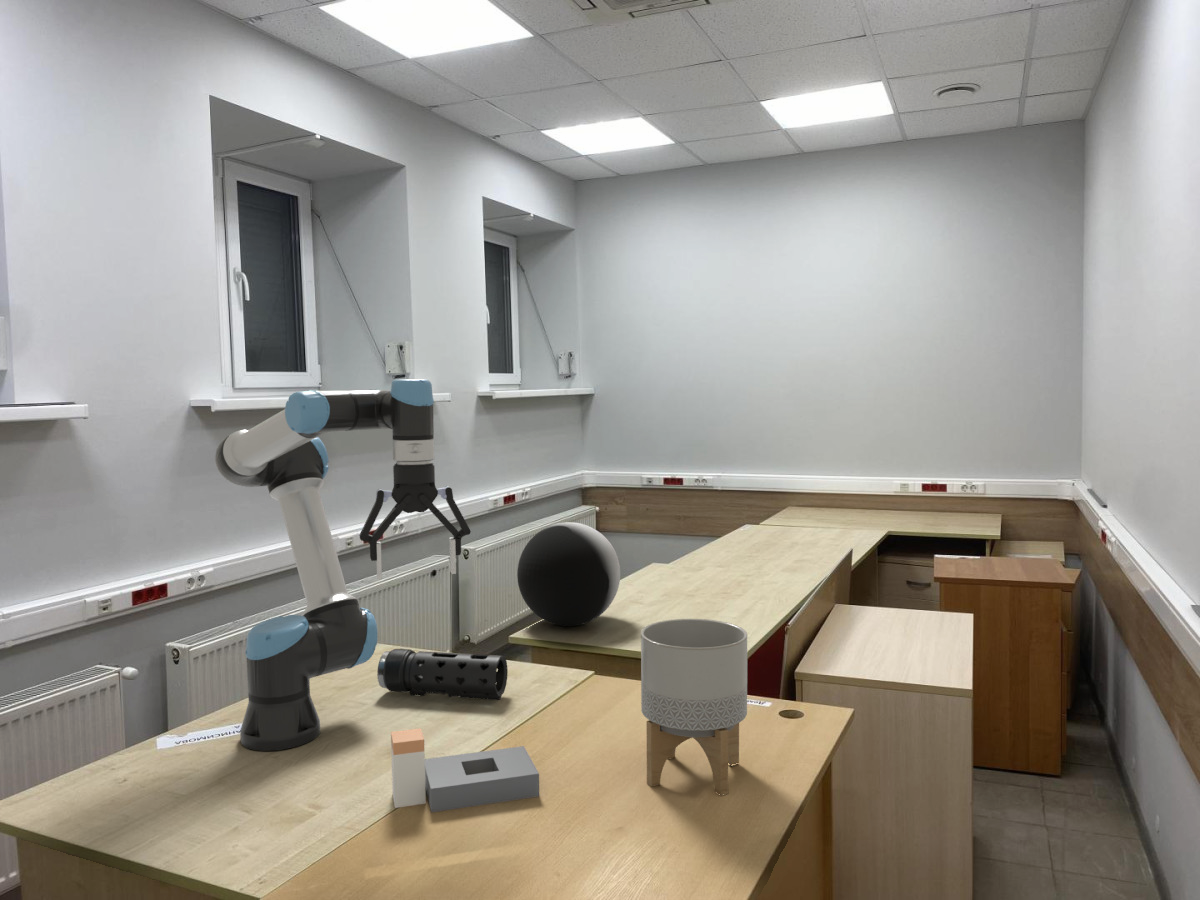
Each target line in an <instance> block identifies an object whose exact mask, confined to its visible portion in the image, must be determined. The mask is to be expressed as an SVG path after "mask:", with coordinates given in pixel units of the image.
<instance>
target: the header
mask: <svg viewBox="0 0 1200 900" xmlns="http://www.w3.org/2000/svg"><path fill="white" fill-rule="evenodd" d="M425 794H426V797H427V800H428V804H429V805H428V806H429V808H430V812H431V813H435V812H443V811H450V810H455V809H456V810H457V809H463V808H470V807H476V806H483V805H490V804H497V803H501V802H502V803H505V802H510V801H515V800H516V801H517V800H524V799H531V798H535V797H537V798H538V797H540V773H539V771H538V769H537V767H536V765H535V764H534V762H533V760H532V758H531V756H530V755H529V753H528V751H527V749H526V748H525V746H524V745H522V746H515V747H507V748H498V749H490V750H484V751H476V752H469V753H468V752H467V753H460V754H459V753H458V754H453V755H446V756H445V755H444V756H437V757H431V758H425Z"/></svg>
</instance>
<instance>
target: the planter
mask: <svg viewBox="0 0 1200 900" xmlns="http://www.w3.org/2000/svg"><path fill="white" fill-rule="evenodd" d="M640 657H641V658H640V660H641V661H640V668H641V670H640V671H641V672H640V680H641V682H640V683H641V684H640V685H641V689H640V690H641V693H640V694H641V695H640V696H641V698H640V699H641V702H640V703H641V705H640V706H641V710H640V711H641V713H642V715H643V716H644V717H645V718H646V719H647V720H646V784H647V785H648V786H650V788H651V787H656V786H659V785H661V779H662V778H661V777H662V772H663V769H664V766H665V764H666V762H667V760H669V758H671V759H674V758H673V757H675V758H676V748H678V746H680V745H681V744H682V743H684V742H686V741H687V740H690V739H692V738H693V739H694V740H695V741H696V742H697V743H698V744H699V745H700V747H701V749H702V750H703V752H704V754H705V756H706V758H707V760H708V762H709V763H708V764H709V765H710V769H711V773H712V777H713V779H712V780H713V783H714V784H713V785H714V792H715V793H716V792H717V793H718V795H719V794H720V795H722V796H724V795H723V794H726V795H728V794H729V765H728V763H729V764H730V765H732V764H736V763H739V764H740V723H741V722H742V721H744V720H745V719H746V717H747V714H748V633H747V631H746V630H745V629H744V628H743V627H741V626H739V625H736V624H733V623H729V622H727V621H726V622H725V621H722V620H714V619H705V618H676V619H667V620H661V621H656V622H653V623H651V624H647V625H646V626H644V627H643V628H642V629H641V630H640ZM717 793H716V794H717ZM727 793H728V794H727ZM720 795H719V796H720Z"/></svg>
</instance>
